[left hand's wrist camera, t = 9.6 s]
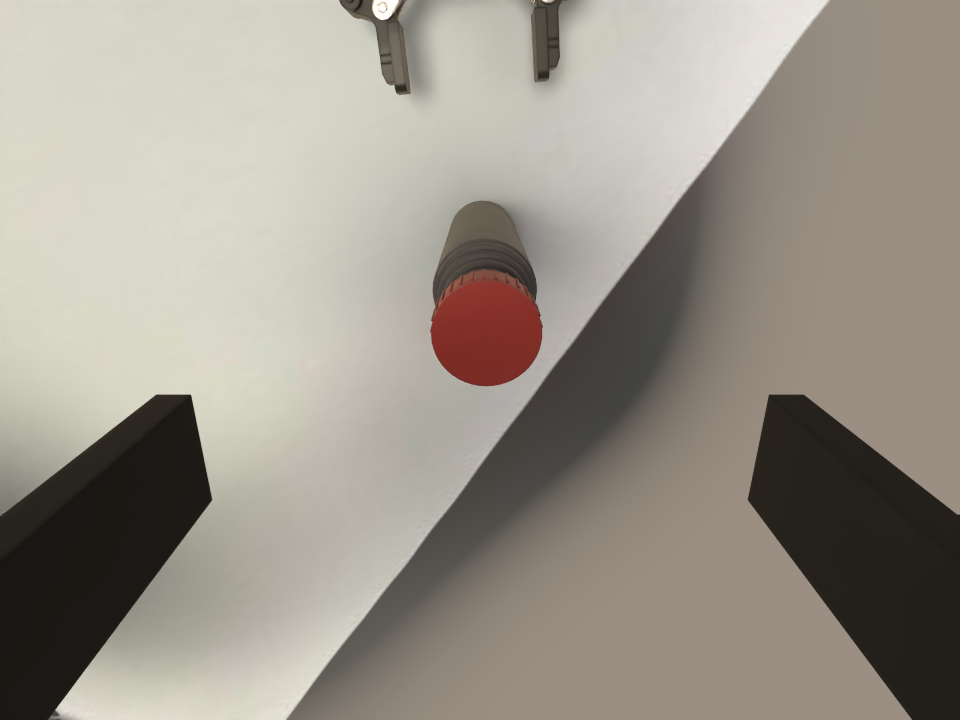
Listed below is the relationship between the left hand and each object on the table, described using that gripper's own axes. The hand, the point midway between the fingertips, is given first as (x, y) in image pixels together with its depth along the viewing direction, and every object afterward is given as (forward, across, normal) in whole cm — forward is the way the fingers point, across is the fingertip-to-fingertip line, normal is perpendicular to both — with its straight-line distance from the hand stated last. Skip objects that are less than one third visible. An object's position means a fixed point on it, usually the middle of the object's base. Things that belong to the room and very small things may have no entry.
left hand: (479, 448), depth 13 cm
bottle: (+33, 0, 0) cm, 33 cm away
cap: (+9, 0, 0) cm, 9 cm away
